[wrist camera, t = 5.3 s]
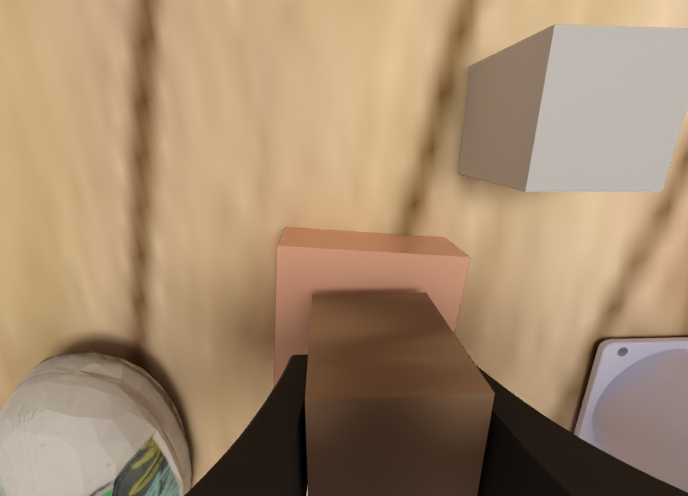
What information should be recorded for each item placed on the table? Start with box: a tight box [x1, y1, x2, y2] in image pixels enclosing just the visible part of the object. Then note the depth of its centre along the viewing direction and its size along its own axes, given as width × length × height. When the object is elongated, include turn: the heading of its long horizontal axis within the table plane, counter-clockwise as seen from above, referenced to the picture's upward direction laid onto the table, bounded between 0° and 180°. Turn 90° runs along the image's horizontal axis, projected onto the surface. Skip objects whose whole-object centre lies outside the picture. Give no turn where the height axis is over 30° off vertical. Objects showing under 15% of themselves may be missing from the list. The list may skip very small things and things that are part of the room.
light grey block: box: [458, 24, 688, 192], centre depth 11 cm, size 4×4×5 cm
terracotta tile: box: [274, 227, 470, 387], centre depth 15 cm, size 7×7×3 cm
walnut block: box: [305, 293, 495, 496], centre depth 10 cm, size 4×4×5 cm
